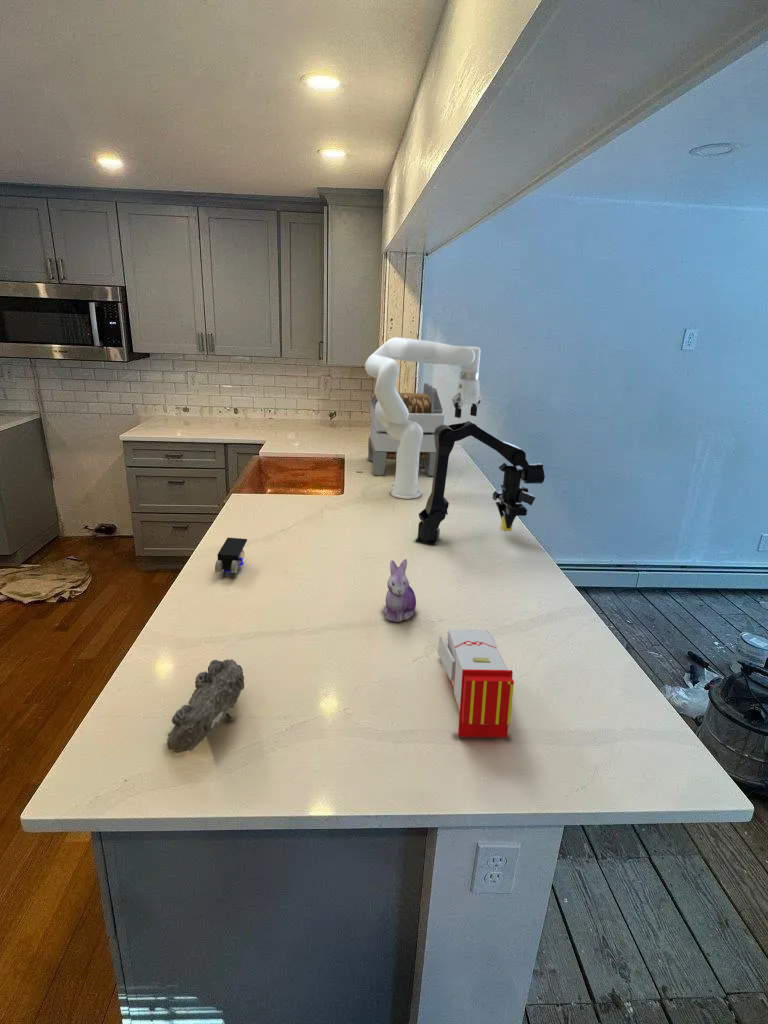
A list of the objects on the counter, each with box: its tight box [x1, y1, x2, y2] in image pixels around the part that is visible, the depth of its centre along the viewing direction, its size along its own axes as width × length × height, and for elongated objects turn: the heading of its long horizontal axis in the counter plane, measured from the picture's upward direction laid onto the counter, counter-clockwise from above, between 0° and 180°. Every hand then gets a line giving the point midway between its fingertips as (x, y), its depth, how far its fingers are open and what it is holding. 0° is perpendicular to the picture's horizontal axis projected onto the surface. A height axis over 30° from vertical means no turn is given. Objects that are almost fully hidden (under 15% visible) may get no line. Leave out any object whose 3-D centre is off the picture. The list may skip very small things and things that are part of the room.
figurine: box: [384, 558, 417, 623], centre depth 145 cm, size 9×10×15 cm
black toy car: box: [214, 537, 248, 578], centre depth 166 cm, size 7×8×15 cm
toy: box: [437, 628, 515, 738], centre depth 117 cm, size 12×13×30 cm
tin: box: [500, 515, 513, 532], centre depth 197 cm, size 4×4×5 cm
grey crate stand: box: [367, 382, 445, 477], centre depth 277 cm, size 34×33×41 cm
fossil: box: [166, 658, 245, 754], centre depth 106 cm, size 22×10×15 cm
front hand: (506, 526), depth 197 cm, fingers closed on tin, 4 cm apart
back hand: (465, 416), depth 247 cm, fingers open, 9 cm apart
